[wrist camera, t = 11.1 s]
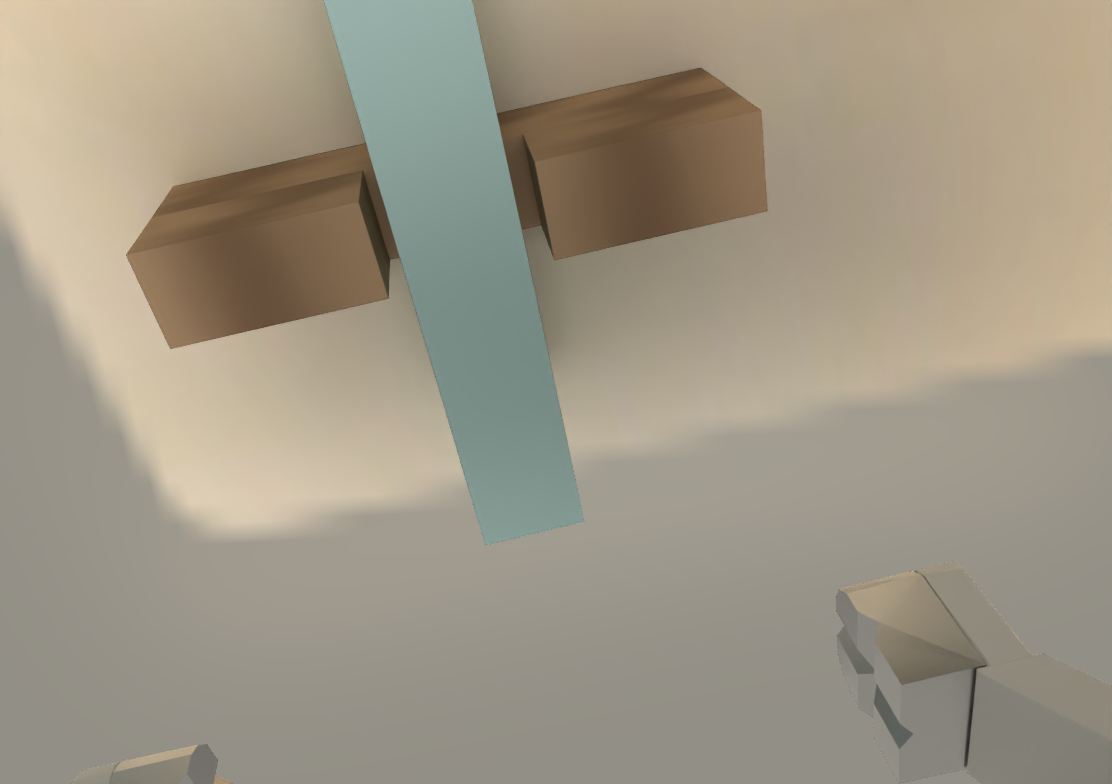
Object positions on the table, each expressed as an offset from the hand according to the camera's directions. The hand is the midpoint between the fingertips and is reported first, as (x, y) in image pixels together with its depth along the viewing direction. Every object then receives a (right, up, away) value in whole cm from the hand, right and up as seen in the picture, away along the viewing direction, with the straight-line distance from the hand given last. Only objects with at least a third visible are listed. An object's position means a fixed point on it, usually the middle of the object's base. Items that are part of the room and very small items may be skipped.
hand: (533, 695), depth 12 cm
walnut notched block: (-3, +11, +19) cm, 23 cm away
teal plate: (-3, +11, +19) cm, 23 cm away
